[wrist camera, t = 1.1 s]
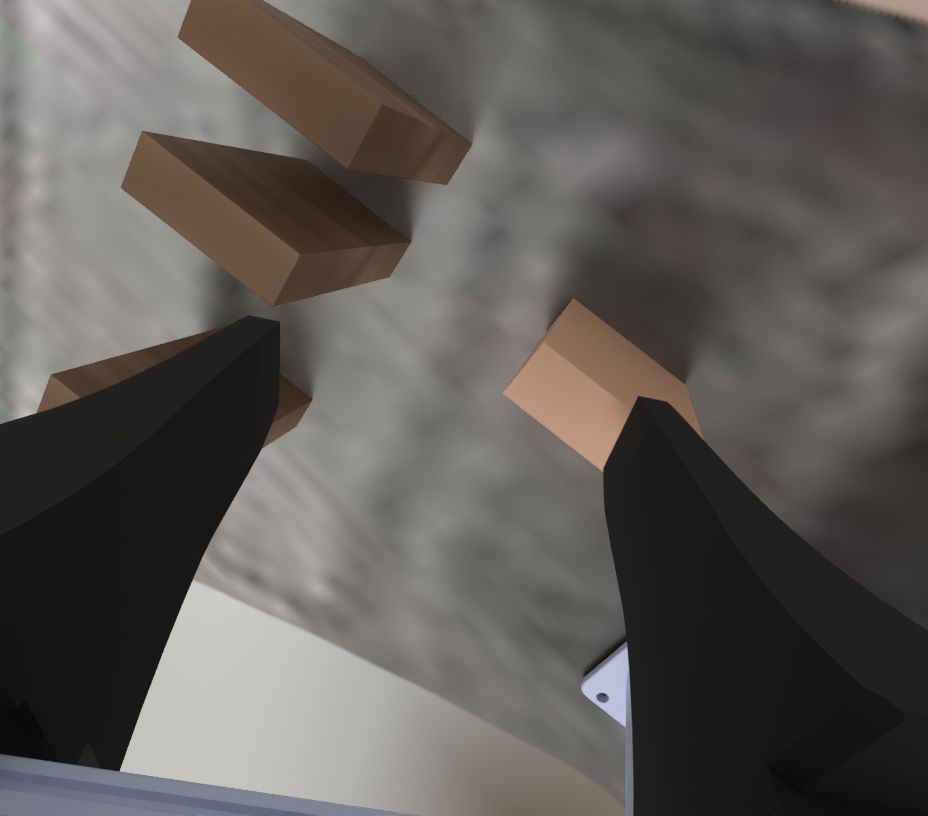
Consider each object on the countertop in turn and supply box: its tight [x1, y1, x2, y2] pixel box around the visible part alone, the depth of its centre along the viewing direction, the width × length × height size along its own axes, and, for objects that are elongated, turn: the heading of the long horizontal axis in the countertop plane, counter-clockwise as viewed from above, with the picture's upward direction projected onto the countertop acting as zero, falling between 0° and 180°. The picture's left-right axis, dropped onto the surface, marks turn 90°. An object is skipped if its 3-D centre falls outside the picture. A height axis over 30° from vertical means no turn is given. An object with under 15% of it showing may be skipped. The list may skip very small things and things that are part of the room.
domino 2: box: [121, 131, 411, 307], centre depth 18 cm, size 2×5×8 cm, turn 55°
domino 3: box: [37, 328, 312, 448], centre depth 22 cm, size 2×5×8 cm, turn 55°
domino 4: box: [503, 298, 704, 471], centre depth 17 cm, size 2×5×8 cm, turn 55°
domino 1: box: [178, 0, 472, 185], centre depth 17 cm, size 2×5×8 cm, turn 55°
